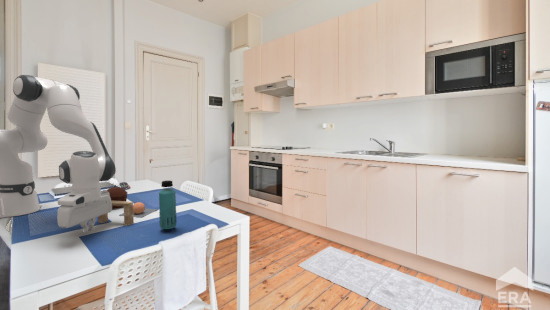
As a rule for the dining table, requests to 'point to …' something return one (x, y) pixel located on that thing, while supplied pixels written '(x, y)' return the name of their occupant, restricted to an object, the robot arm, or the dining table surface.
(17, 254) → the dining table surface
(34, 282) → the dining table surface
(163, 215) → the beverage bottle
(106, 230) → the dining table surface
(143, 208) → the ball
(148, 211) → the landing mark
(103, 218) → the bridge
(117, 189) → the muffin
